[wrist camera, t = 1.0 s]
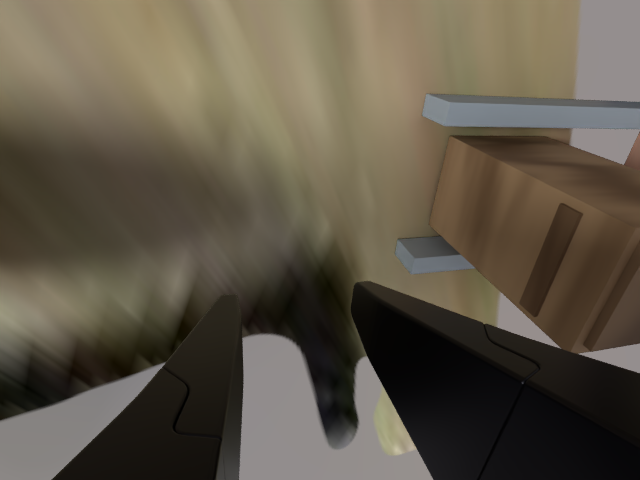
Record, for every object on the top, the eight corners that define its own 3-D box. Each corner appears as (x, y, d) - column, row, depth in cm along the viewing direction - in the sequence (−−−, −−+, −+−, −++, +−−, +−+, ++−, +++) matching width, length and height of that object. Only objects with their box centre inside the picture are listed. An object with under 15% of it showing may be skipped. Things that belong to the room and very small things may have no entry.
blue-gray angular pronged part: (394, 254, 27) (448, 320, 21) (426, 93, 22) (508, 123, 16) (600, 238, 32) (690, 288, 26) (666, 103, 27) (797, 128, 21)
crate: (426, 224, 26) (572, 363, 16) (446, 135, 23) (642, 234, 13) (515, 219, 28) (698, 340, 18) (544, 136, 25) (784, 223, 15)
